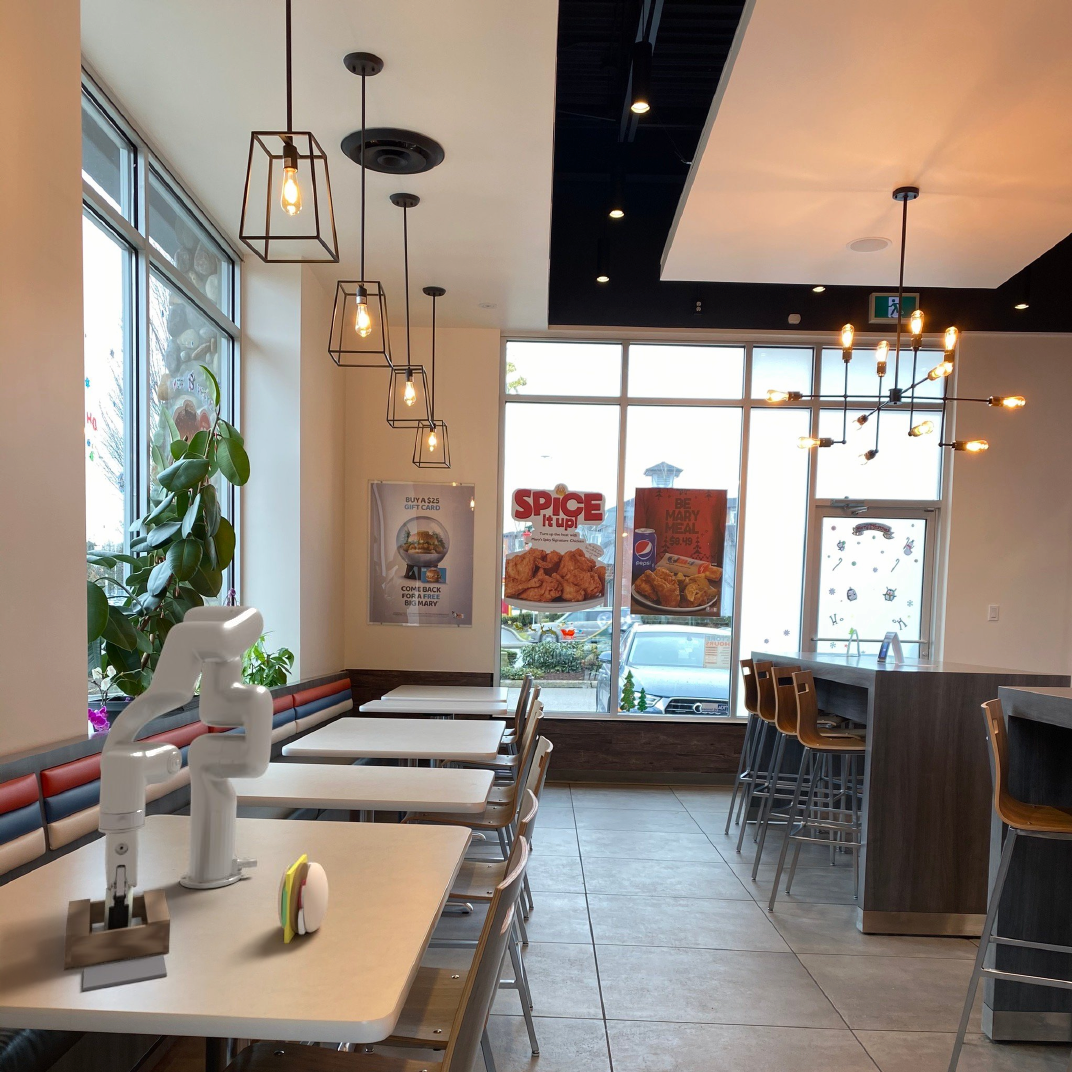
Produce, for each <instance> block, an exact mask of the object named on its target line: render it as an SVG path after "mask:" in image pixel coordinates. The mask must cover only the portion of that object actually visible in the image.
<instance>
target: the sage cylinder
mask: <svg viewBox="0 0 1072 1072" xmlns="http://www.w3.org/2000/svg"><path fill="white" fill-rule="evenodd" d="M116 887H117V885H114V888H116ZM124 887H126V883H124ZM128 888H129V889H128V904H129V918H128V927H131V921H132V901H133V896H134V888H133V886H130V885H129V883H128ZM124 893H125V891H124ZM115 894H116V892H114V895H115ZM104 900H105V918H104V931H107V930H108V915H109V907H110V906H111V891H110V890H108V889H107V887H106V888H105V899H104Z"/></svg>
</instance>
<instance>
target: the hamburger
mask: <svg viewBox="0 0 1072 1072" xmlns="http://www.w3.org/2000/svg"><path fill="white" fill-rule="evenodd" d="M307 862H308V854H302V855H301V856H300V857H299V859H297V861H296V862H295V863H291V864H289V865H288V866H287V867H286V868H285V870H284V871H283V873H282V876H281V879H280V882H279V887H278V896H277V915H278V919H279V923H280V926H281V928H282V929H283V930H284V934H283V935H284V937H283V938H284V939H283V940H284V941H283V944H289V943H290V941H291V940H292V939H293V937H294V935H295V934H297V933H298V934H299V935H304V934H305V933H307V932H308V933H313V932H314V931H316V930H317V929H318V928H320V926H321V924H322V922H323V920H324V918H325V916H326V913H327V908H328V903H329V882H328V877H327V874H326V872H325V870H324V868H323V867H322V865H321V864H319V863H318V862H308V863H307Z"/></svg>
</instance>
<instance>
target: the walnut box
mask: <svg viewBox="0 0 1072 1072" xmlns="http://www.w3.org/2000/svg"><path fill="white" fill-rule="evenodd" d="M104 918H105V899H100V900H93V901H91V898H85V899H77V900H69V901H68V905H67V916H66V924H65V925H66V926H65V934H64V937H65V938H64V954H63V955H64V956H63V971H69V970H73V969H80V968H88V967H94V966H100V965H106V964H112V963H118V962H123V961H129V960H135V959H141V958H147V957H153V956H159V955H164V954H170V936H171V935H170V934H171V915H170V911H169V907H168V903H167V899H166V894H165V890H164V888H157V889H149V890H143V894H137V895H133V901H132V921H131V927H127V928H120V929H114V930H107V931H104Z"/></svg>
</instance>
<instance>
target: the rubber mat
mask: <svg viewBox="0 0 1072 1072" xmlns="http://www.w3.org/2000/svg"><path fill="white" fill-rule="evenodd" d="M166 966H167V965H166V960H165V955H164V954H159V955H154V956H148V957H142V958H136V959H130V960H124V961H118V962H112V963H106V964H100V965H94V966H89V967H83V968H84V969H83V982H82V984H83V985H82V986H83V987H82V991H83V992H87V991H91V990H97V989H103V988H110V987H115V986H120V985H125V984H131V983H137V982H142V981H148V980H149V981H150V980H154V979H159V978H163V977H167V976H168V972H167V967H166Z"/></svg>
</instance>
